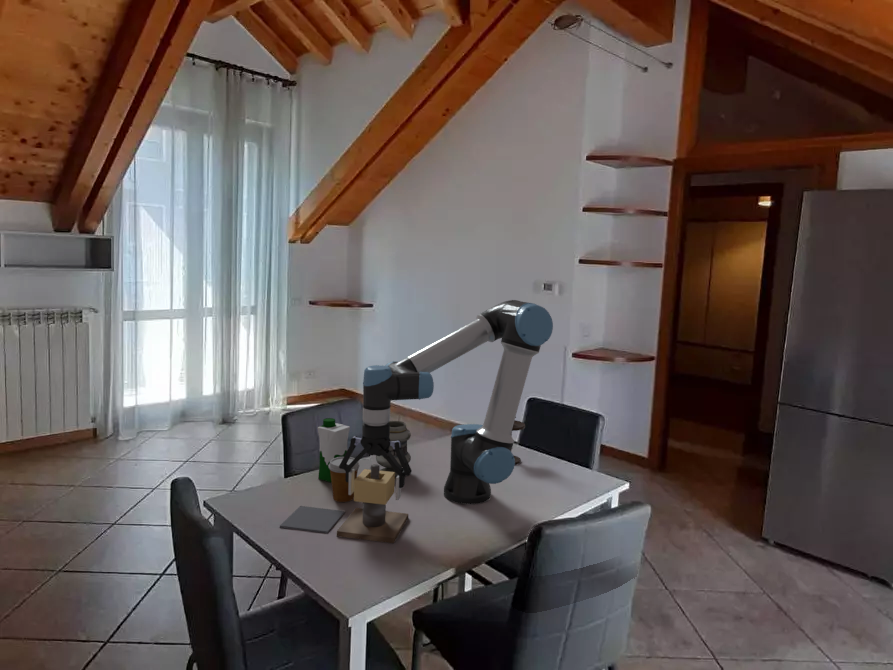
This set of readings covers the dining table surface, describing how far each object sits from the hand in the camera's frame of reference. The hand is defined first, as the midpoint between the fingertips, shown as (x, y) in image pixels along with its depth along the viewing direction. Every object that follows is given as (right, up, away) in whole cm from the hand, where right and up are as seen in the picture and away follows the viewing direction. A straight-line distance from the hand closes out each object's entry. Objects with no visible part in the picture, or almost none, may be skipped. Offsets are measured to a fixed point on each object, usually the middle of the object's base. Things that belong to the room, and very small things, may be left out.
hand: (374, 495), depth 178 cm
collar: (0, 0, 0) cm, 0 cm away
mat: (-18, -8, +4) cm, 20 cm away
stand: (0, -9, +1) cm, 9 cm away
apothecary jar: (+1, -3, +43) cm, 43 cm away
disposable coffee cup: (-12, -6, +21) cm, 25 cm away
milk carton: (-18, -4, +37) cm, 41 cm away
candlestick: (+43, -3, +61) cm, 75 cm away
